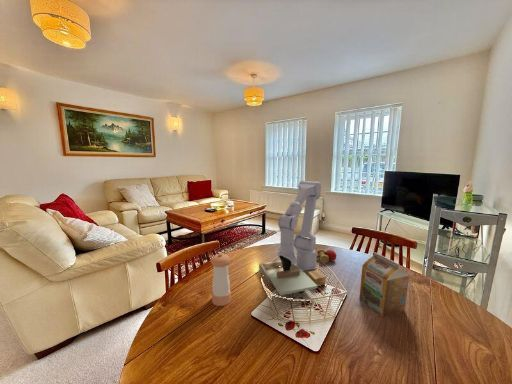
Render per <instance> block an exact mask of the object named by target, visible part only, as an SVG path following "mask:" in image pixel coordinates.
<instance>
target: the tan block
mask: <svg viewBox="0 0 512 384" xmlns="http://www.w3.org/2000/svg"><path fill="white" fill-rule="evenodd" d="M307 276H308V277H309V278H310V279H311V280H312V281H313V282H314V283H315V284H316V285H317V286H318V285H325V286H326V276H325V274H323V273H322V272H320V271H319V270H318V269H315V270H311V271H310V270H309V271H307Z"/></svg>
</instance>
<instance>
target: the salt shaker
mask: <svg viewBox="0 0 512 384" xmlns="http://www.w3.org/2000/svg"><path fill="white" fill-rule="evenodd" d="M230 259H231V257H230V256H229V255H228V254H225V253H222V252H220V253H218V254H215V255H213V257H212V258H211V259H210V262H211V265H212V266H213V277H212V283H211V285H212V292H211V302H212V305H214V306H217V307H224V306H227V305H229V304H230V302H231V300H232V297H231V294H232V293H231V292H232V291H231V283H230V276H229V264H230V262H231V260H230Z"/></svg>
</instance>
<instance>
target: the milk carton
mask: <svg viewBox="0 0 512 384" xmlns="http://www.w3.org/2000/svg"><path fill="white" fill-rule="evenodd" d="M400 266H401V265H400V263H398V262H396V261H394V260H392V259H390V258H388V257H385V256H384V255H381V254H379V253H378V252H373V255H372V256H371V257H369V258H368V259H367V260H366V261H364V263H363V264H362V266H361V267H362V268H361V276H360V277H361V279H360V289H359V300H360V299H361V300H360V301H362V302H363V303H364V304H366V306H368V307H369V308H371V309H372V310H373V311H374V312H375V313H377V314H378V315H379V316H380V317H381V318H385V317H388V316H391V315H396V314H400V313H403V312H405V311H406V304H407V296H408V287H409V280H410V275H409V274H408V272H406V271H405V269H404V270H403V269H401V267H400ZM402 311H403V312H402ZM399 312H400V313H399Z"/></svg>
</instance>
